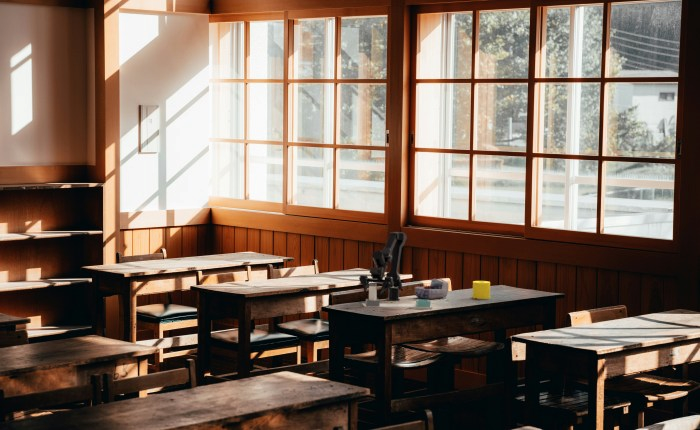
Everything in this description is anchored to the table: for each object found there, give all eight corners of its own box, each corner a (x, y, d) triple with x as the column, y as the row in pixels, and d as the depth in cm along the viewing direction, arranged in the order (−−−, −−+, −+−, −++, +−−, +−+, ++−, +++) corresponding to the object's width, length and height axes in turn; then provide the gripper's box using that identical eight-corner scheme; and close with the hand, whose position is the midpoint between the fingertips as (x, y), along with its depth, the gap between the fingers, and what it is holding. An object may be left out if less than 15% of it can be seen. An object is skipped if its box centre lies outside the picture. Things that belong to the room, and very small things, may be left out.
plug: (370, 304, 576) (371, 282, 575) (376, 305, 575) (376, 283, 574) (368, 305, 573) (369, 283, 572) (374, 305, 572) (374, 283, 571)
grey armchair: (451, 279, 617) (427, 282, 604) (451, 297, 618) (426, 301, 605) (435, 277, 627) (411, 280, 614) (435, 295, 628) (410, 298, 614)
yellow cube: (491, 297, 623) (492, 281, 622) (486, 299, 614) (487, 283, 613) (475, 296, 627) (476, 280, 626) (470, 298, 618) (470, 282, 617)
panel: (362, 305, 581) (362, 297, 580) (429, 305, 584) (429, 298, 583) (364, 308, 569) (364, 300, 568) (432, 308, 572) (432, 301, 571)
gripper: (360, 260, 581) (352, 282, 571) (392, 262, 573) (384, 284, 564) (365, 273, 588) (357, 295, 579) (397, 275, 581) (389, 297, 571)
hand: (372, 293), depth 573 cm, fingers open, 9 cm apart
